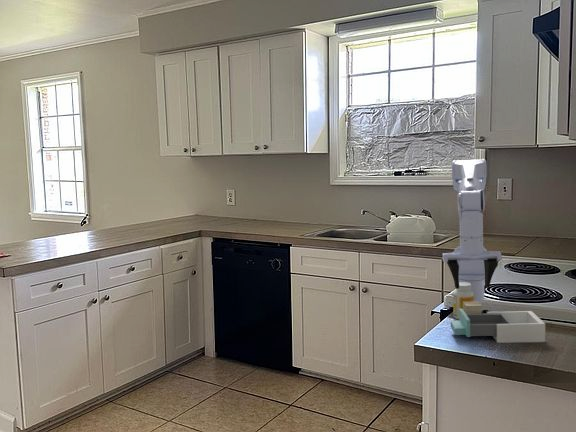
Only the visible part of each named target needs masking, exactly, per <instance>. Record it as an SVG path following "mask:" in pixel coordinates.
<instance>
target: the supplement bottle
mask: <svg viewBox="0 0 576 432" xmlns="http://www.w3.org/2000/svg"><path fill="white" fill-rule="evenodd" d="M470 289H471V284H470V283H468V282H459V289H455V290H454V291H453V293H452V296H453V297H452V299H453V301H452V302H453V303H452V304H453V305H452V306H453V315H452V316H453V318H454V319H455V320H459V309H463V301H474V294H473V292H472V291H471V290H470Z"/></svg>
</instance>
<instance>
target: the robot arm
mask: <svg viewBox="0 0 576 432" xmlns="http://www.w3.org/2000/svg"><path fill="white" fill-rule="evenodd" d="M487 167H488V166H487V160H486V159H485V158H480V159H461V160H460V159H459V160H458V159H457V160H456V159H453V160H452V161H451V179H452V187H453V190H454V191H456V192H457V211H458V220H459V245H458V246H457V247H455V249H454V250H453V251H452V252H445V253H443V252H442V256H441V257H442V262H443V263H446V265H447V266H448V268H449V270H450V273H451V275H452V278H453V282H454V288H455V290H457V289H459V282H468V283H470V284H471V289H470V290H471V291H472V292H473V294H474V301H479V302H480V304H481V303H482V301H483V300H484V301H485V288H486V289H490V285H491V281H492V278H493V276H494V274H495V273H494V272H495V271H496V269H497V268H498V265H499V261H502V252H501V251H493V250H492V251H488V249H486V248H485V247H484V220H483V219H484V214H483V213H484V211H485V201H486V200H485V192H484V190H485V189H486V186H487V175H488V172H487V171H488V168H487ZM483 310H484V309H482V312H484V311H483Z"/></svg>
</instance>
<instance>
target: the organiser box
mask: <svg viewBox="0 0 576 432" xmlns="http://www.w3.org/2000/svg"><path fill="white" fill-rule="evenodd" d="M486 314H503V316H504V317H505V318H506V319H507V320H508V321H509V322H510V324H497V336H492V337H493V339H494V340H495V342H497V344H498V343H499V344H500V343H507V344H508V343H546V322H544V321H543V320H542V319H541V318H539V316H538V315H537V314H535V313H534V311H532V310H521V311H519V310H518V311H517V310H514V311H513V310H510V311H486Z"/></svg>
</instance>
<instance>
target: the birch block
mask: <svg viewBox="0 0 576 432" xmlns="http://www.w3.org/2000/svg"><path fill="white" fill-rule="evenodd" d="M463 310H464V312H465V313H466V315H473V314H483V311H482V305H481V304H480V302H479V301H463Z"/></svg>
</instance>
